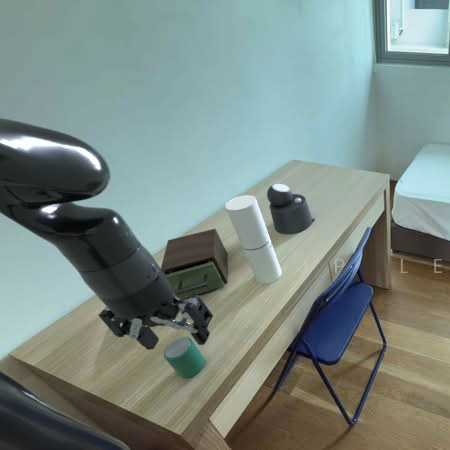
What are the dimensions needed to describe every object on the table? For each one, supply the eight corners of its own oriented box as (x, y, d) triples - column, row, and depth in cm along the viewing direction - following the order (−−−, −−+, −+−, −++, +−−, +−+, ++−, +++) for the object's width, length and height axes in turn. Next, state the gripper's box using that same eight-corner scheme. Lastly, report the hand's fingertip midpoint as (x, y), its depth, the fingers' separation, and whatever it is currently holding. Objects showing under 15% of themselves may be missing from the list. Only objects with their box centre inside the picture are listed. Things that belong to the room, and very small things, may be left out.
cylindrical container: (250, 281, 89) (218, 207, 74) (266, 265, 94) (238, 193, 80) (271, 286, 87) (242, 211, 73) (286, 269, 92) (261, 196, 78)
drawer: (224, 296, 83) (212, 274, 78) (175, 312, 79) (160, 289, 75) (224, 258, 97) (214, 236, 92) (183, 269, 93) (170, 248, 88)
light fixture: (305, 190, 100) (259, 196, 97) (315, 230, 109) (273, 237, 106) (305, 173, 110) (264, 178, 108) (314, 210, 119) (276, 216, 117)
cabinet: (227, 282, 89) (214, 256, 83) (177, 297, 85) (159, 270, 79) (227, 253, 100) (215, 228, 94) (183, 265, 96) (167, 240, 90)
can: (198, 377, 65) (183, 358, 61) (173, 379, 65) (157, 359, 61) (209, 355, 70) (196, 335, 66) (186, 356, 70) (172, 337, 66)
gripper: (53, 302, 41) (123, 367, 50) (165, 293, 41) (212, 359, 51) (94, 263, 47) (149, 328, 56) (190, 255, 47) (229, 320, 57)
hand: (179, 342), depth 54 cm, fingers open, 8 cm apart
